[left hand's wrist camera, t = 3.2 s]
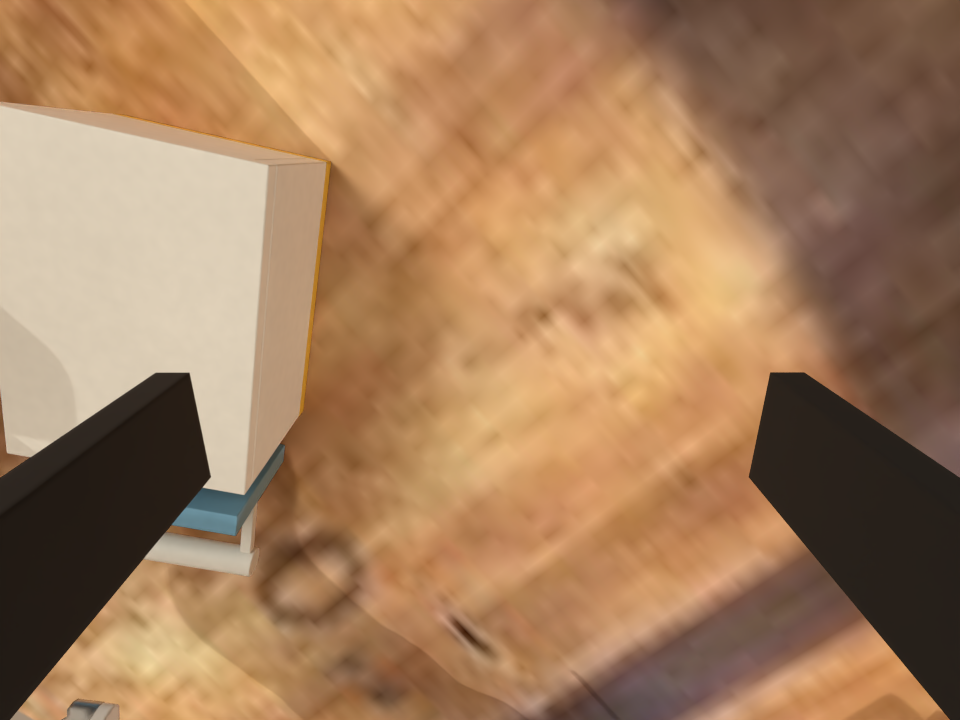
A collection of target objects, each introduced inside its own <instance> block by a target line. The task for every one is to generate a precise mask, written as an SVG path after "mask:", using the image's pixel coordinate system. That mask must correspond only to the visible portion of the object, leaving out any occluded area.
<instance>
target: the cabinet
mask: <svg viewBox="0 0 960 720" xmlns="http://www.w3.org/2000/svg"><path fill="white" fill-rule="evenodd" d="M330 167H331V161H326V160H322V159H317V158H313V157H309V156H304V155H300V154H295V153H291V152H286V151H282V150H278V149H273V148H269V147H264V146H260V145H255V144H251V143H246V142H242V141H238V140H233V139H229V138H224V137H220V136H215V135H211V134H207V133H202V132H198V131H193V130H189V129H184V128H180V127H175V126H171V125H167V124H162V123H158V122H153V121H149V120H144V119H140V118H136V117H131V116H127V115H121V114H109V113H99V112H90V111H81V110H72V109H63V108H53V107H44V106H35V105H26V104H17V103H7V102H0V392H1V401H2V411H3V420H4V429H5V439H6V448H7V453H9V454H14V455H20V456H26V457H32V456H33V455H35V454H36V453H38V452H39V451H41V450H42V449H44V448H45V447H47V446H48V445H49V444H51V443H52V442H54V441H55V440H57V439H58V438H60V437H61V436H63V435H64V434H66V433H67V432H69V431H70V430H72V429H73V428H75V427H76V426H78V425H79V424H80V423H82V422H83V421H85V420H86V419H88V418H89V417H91V416H92V415H94V414H95V413H97V412H98V411H100V410H101V409H103V408H104V407H106V406H107V405H109V404H110V403H112V402H113V401H114V400H116V399H117V398H119V397H120V396H122V395H123V394H125V393H126V392H128V391H129V390H131V389H132V388H134V387H135V386H137V385H138V384H140V383H141V382H143V381H144V380H145V379H147V378H148V377H150V376H151V375H153V374H154V373H190V377H191V382H192V386H193V391H194V396H195V401H196V406H197V411H198V416H199V421H200V425H201V430H202V435H203V440H204V445H205V450H206V455H207V460H208V464H209V469H210V474H211V478H210V479H209V480H208V482H207V483H206V484H205V485H204V486H203V488H207V489H213V490H219V491H224V492H230V493H236V494H241V495H245V493H246V492H247V491H248V489H249V488H250V486H251V484H252V483H253V482H254V480H255V479H256V477H257V476H258V475H259V473H260V472H261V470H262V469H263V467H264V466H265V464H266V463H267V461H268V460H269V459H270V457H271V456H272V454H273V453H274V451H275V450H276V448H277V447H278V445H279V444H280V443H281V441H282V440H283V438H284V437H285V435H286V434H287V432H288V431H289V429H290V428H291V427H292V425H293V424H294V422H295V421H296V419H297V418H298V416H300V415H301V413H302V412H303V409H304V400H305V391H306V382H307V373H308V364H309V355H310V346H311V337H312V328H313V319H314V311H315V302H316V293H317V284H318V275H319V266H320V257H321V248H322V239H323V230H324V221H325V212H326V203H327V194H328V185H329V176H330Z"/></svg>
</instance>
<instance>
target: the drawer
mask: <svg viewBox="0 0 960 720" xmlns="http://www.w3.org/2000/svg"><path fill="white" fill-rule="evenodd" d="M284 450H285V445H283V444H279V445H278V447H277V448H276V450H275V451H274V453H273V454H272V456H271V457H270V459H269V460H268V461H267V463H266V464H265V466H264V467H263V469H262V470H261V472H260V473H259V475H258V476H257V477H256V479H255V480H254V482H253V483H252V484H251V486H250V488H249V489H248V491H247V492H246V493H245V495H241V494H236V493H230V492H224V491H219V490H213V489H207V488H202V489H201V490H200V491H199V492H198V494H197V495H196V496H195V497H194V498H193V500H192V501H191V502H190V503H189V504H188V506H187V507H186V508H185V509H184V510H183V512H182V513H181V514H180V515H179V517H178V518H177V519H176V520H175V521H174V523H173V524H172V525H174V526H180V527H186V528H192V529H198V530H204V531H210V532H215V533H221V534H227V535H233V536H236V535H237V533H238V532H239V530H240V529H241V527H242V532H241V545H240V544H234V543H229V542H223V541H217V540H211V539H205V538H199V537H193V536H187V535H181V534H175V533H170V532H165V533H164V535H163V536H162V537H161V538H160V539H159V541H158V542H157V543H156V544H155V545H154V547H153V548H152V549H151V550H150V551H149V553H148V554H147V555H146V556H145V558H144V559H145V560H151V561H157V562H163V563H169V564H176V565H182V566H188V567H194V568H200V569H206V570H212V571H218V572H224V573H230V574H236V575H242V576H248V577H250V576H252V574H253V573H254V571H255V569H256V566H257V563H258V560H259V554H260V549H259V548H258V547H254V541H255V529H256V517H257V505H258V500H259V499H260V497H261V496H262V494H263V492H264V491H265V489H266V488H267V486H268V485H269V483H270V481H271V480H272V478H273V477H274V475H275V474H276V472H277V470H278V469H279V467H280V466H281V464H282V463H283V460H284Z"/></svg>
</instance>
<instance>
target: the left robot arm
mask: <svg viewBox="0 0 960 720" xmlns="http://www.w3.org/2000/svg"><path fill="white" fill-rule="evenodd" d="M210 478H211V474H210V469H209V464H208V460H207V455H206V450H205V445H204V440H203V435H202V430H201V425H200V421H199V416H198V411H197V406H196V401H195V396H194V391H193V386H192V382H191V377H190V373H154V374H153V375H151V376H150V377H148V378H147V379H145V380H144V381H143V382H141V383H140V384H138V385H137V386H135V387H134V388H132V389H131V390H129V391H128V392H126V393H125V394H123V395H122V396H120V397H119V398H117V399H116V400H114V401H113V402H112V403H110V404H109V405H107V406H106V407H104V408H103V409H101V410H100V411H98V412H97V413H95V414H94V415H92V416H91V417H89V418H88V419H86V420H85V421H83V422H82V423H80V424H79V425H78V426H76V427H75V428H73V429H72V430H70V431H69V432H67V433H66V434H64V435H63V436H61V437H60V438H58V439H57V440H55V441H54V442H52V443H51V444H49V445H48V446H47V447H45V448H44V449H42V450H41V451H39V452H38V453H36V454H35V455H33V456H32V457H30V458H29V459H27V460H26V461H24V462H23V463H21V464H20V465H18V466H17V467H15V468H14V469H13V470H11V471H10V472H8V473H7V474H5V475H4V476H2V477H1V478H0V720H10V719H11V718H12V717H13V715H14V714H15V713H16V712H17V711H18V709H19V708H20V707H21V706H22V705H23V703H24V702H25V701H26V700H27V699H28V697H29V696H30V695H31V694H32V693H33V691H34V690H35V689H36V688H37V686H38V685H39V684H40V683H41V682H42V680H43V679H44V678H45V677H46V676H47V674H48V673H49V672H50V671H51V670H52V668H53V667H54V666H55V665H56V664H57V662H58V661H59V660H60V659H61V658H62V656H63V655H64V654H65V653H66V652H67V650H68V649H69V648H70V647H71V646H72V644H73V643H74V642H75V641H76V639H77V638H78V637H79V636H80V635H81V633H82V632H83V631H84V630H85V629H86V627H87V626H88V625H89V624H90V623H91V621H92V620H93V619H94V618H95V617H96V615H97V614H98V613H99V612H100V611H101V609H102V608H103V607H104V606H105V605H106V603H107V602H108V601H109V600H110V598H111V597H112V596H113V595H114V594H115V592H116V591H117V590H118V589H119V588H120V586H121V585H122V584H123V583H124V582H125V580H126V579H127V578H128V577H129V576H130V574H131V573H132V572H133V571H134V570H135V568H136V567H137V566H138V565H139V564H140V562H141V561H142V560H143V559H144V558H145V556H146V555H147V554H148V553H149V551H150V550H151V549H152V548H153V547H154V545H155V544H156V543H157V542H158V541H159V539H160V538H161V537H162V536H163V535H164V533H165V532H166V531H167V530H168V529H169V527H170V526H171V525H172V524H173V523H174V521H175V520H176V519H177V518H178V517H179V515H180V514H181V513H182V512H183V510H184V509H185V508H186V507H187V506H188V504H189V503H190V502H191V501H192V500H193V498H194V497H195V496H196V495H197V494H198V492H199V491H200V490H201V489H202V488H203V486H204V485H205V484H206V483H207V482H208V480H209V479H210ZM749 478H750V479H751V480H752V482H753V483H754V484H755V485H756V486H757V488H758V489H759V490H760V491H761V492H762V494H763V495H764V496H765V497H766V498H767V500H768V501H769V502H770V503H771V504H772V506H773V507H774V508H775V509H776V510H777V512H778V513H779V514H780V515H781V517H782V518H783V519H784V520H785V521H786V523H787V524H788V525H789V526H790V527H791V529H792V530H793V531H794V532H795V533H796V535H797V536H798V537H799V538H800V539H801V541H802V542H803V543H804V544H805V545H806V547H807V548H808V549H809V550H810V551H811V553H812V554H813V555H814V556H815V558H816V559H817V560H818V561H819V562H820V564H821V565H822V566H823V567H824V568H825V570H826V571H827V572H828V573H829V574H830V576H831V577H832V578H833V579H834V580H835V582H836V583H837V584H838V585H839V586H840V588H841V589H842V590H843V591H844V592H845V594H846V595H847V596H848V597H849V598H850V600H851V601H852V602H853V603H854V605H855V606H856V607H857V608H858V609H859V611H860V612H861V613H862V614H863V615H864V617H865V618H866V619H867V620H868V621H869V623H870V624H871V625H872V626H873V627H874V629H875V630H876V631H877V632H878V633H879V635H880V636H881V637H882V638H883V639H884V641H885V642H886V643H887V644H888V646H889V647H890V648H891V649H892V650H893V652H894V653H895V654H896V655H897V656H898V658H899V659H900V660H901V661H902V662H903V664H904V665H905V666H906V667H907V668H908V670H909V671H910V672H911V673H912V674H913V676H914V677H915V678H916V679H917V680H918V682H919V683H920V684H921V685H922V686H923V688H924V689H925V690H926V691H927V693H928V694H929V695H930V696H931V697H932V699H933V700H934V701H935V702H936V703H937V705H938V706H939V707H940V708H941V709H942V711H943V712H944V713H945V714H946V715H947V717H948V718H949V719H950V720H960V478H959V477H958V476H956V475H955V474H953V473H952V472H950V471H949V470H947V469H946V468H945V467H943V466H942V465H940V464H939V463H937V462H936V461H934V460H933V459H931V458H930V457H928V456H927V455H925V454H924V453H922V452H921V451H919V450H918V449H916V448H915V447H913V446H912V445H911V444H909V443H908V442H906V441H905V440H903V439H902V438H900V437H899V436H897V435H896V434H894V433H893V432H891V431H890V430H888V429H887V428H885V427H884V426H882V425H881V424H880V423H878V422H877V421H875V420H874V419H872V418H871V417H869V416H868V415H866V414H865V413H863V412H862V411H860V410H859V409H857V408H856V407H854V406H853V405H851V404H850V403H848V402H847V401H846V400H844V399H843V398H841V397H840V396H838V395H837V394H835V393H834V392H832V391H831V390H829V389H828V388H826V387H825V386H823V385H822V384H820V383H819V382H817V381H816V380H815V379H813V378H812V377H810V376H809V375H807V374H806V373H770V377H769V382H768V386H767V391H766V396H765V401H764V406H763V411H762V416H761V421H760V425H759V430H758V435H757V440H756V445H755V450H754V455H753V459H752V464H751V469H750V474H749Z"/></svg>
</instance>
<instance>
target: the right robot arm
mask: <svg viewBox="0 0 960 720" xmlns="http://www.w3.org/2000/svg"><path fill="white" fill-rule="evenodd" d="M62 720H119V705H118V704H112V703H105V702H100V701H92V700H84V699H77V700H75V701H74V702H73V703H72V704H71V705H70V707H69V708H68V709H67V717H65V718H64V719H62Z"/></svg>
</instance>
